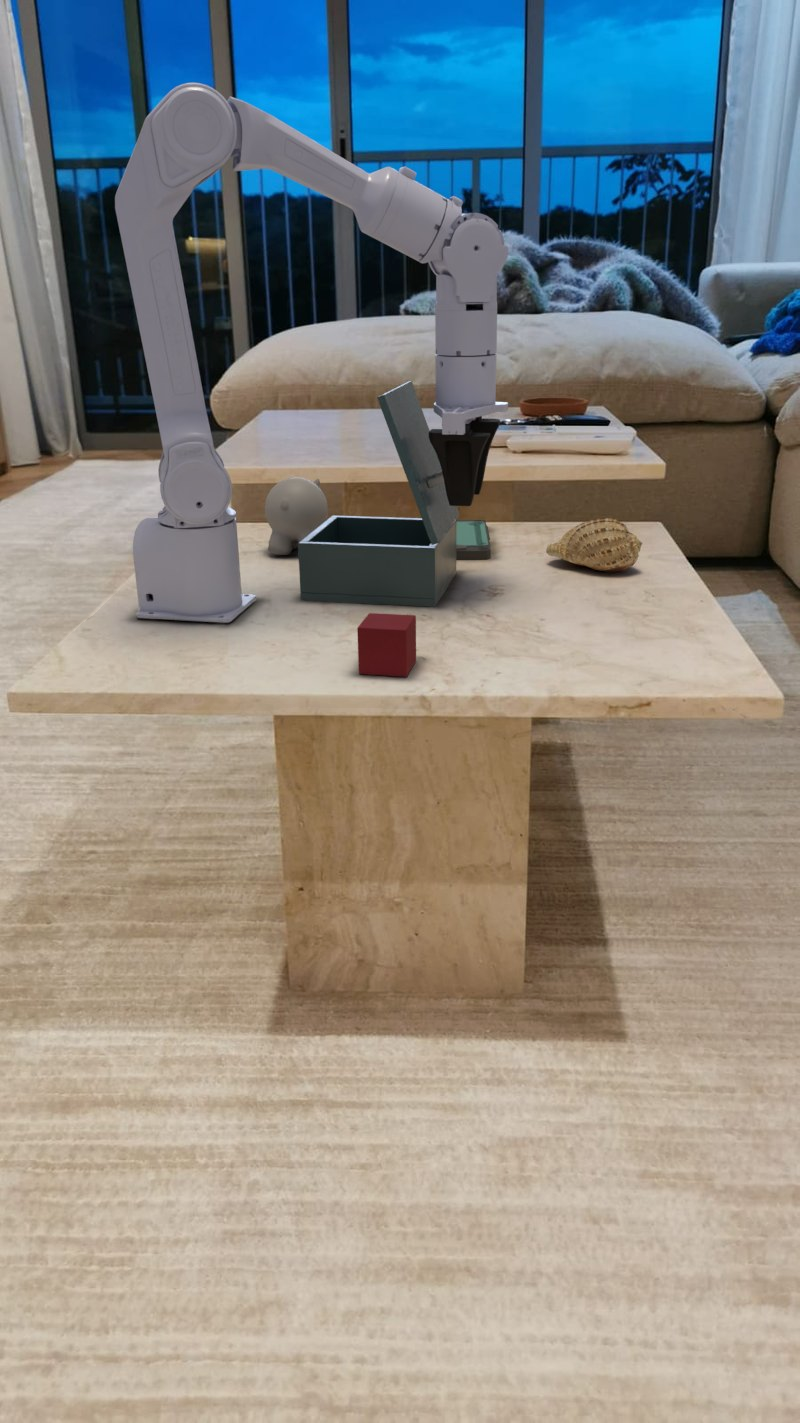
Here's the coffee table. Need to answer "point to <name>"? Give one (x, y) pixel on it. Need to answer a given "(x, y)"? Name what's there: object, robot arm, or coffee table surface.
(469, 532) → the smartphone
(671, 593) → the coffee table surface
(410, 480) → the lid
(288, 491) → the chubby cartoon animal
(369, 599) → the grey-green open box
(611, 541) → the seashell
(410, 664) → the block
